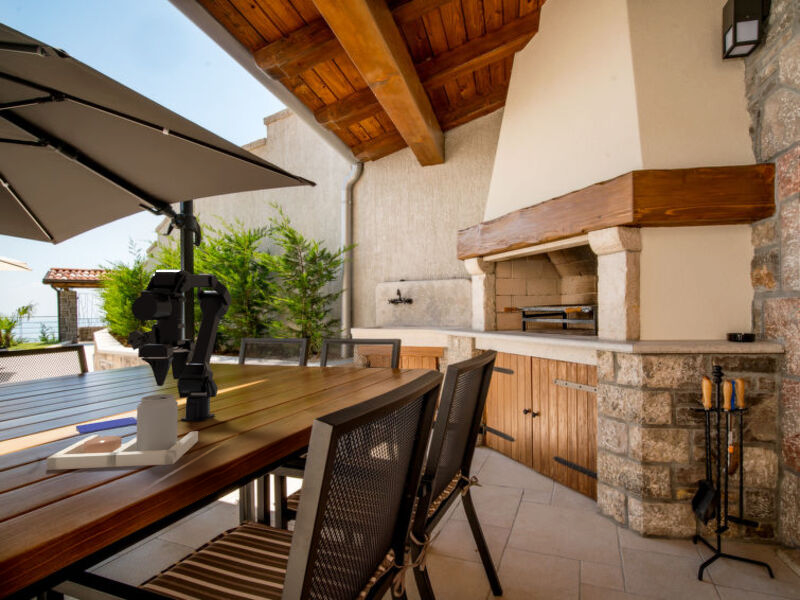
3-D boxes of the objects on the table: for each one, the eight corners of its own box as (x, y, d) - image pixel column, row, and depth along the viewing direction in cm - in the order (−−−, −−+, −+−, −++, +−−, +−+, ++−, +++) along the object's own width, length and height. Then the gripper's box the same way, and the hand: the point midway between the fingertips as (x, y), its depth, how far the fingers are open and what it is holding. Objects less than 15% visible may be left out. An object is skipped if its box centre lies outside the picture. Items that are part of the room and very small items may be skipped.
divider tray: (91, 447, 91) (91, 435, 91) (197, 442, 94) (197, 431, 94) (46, 472, 77) (47, 457, 77) (173, 466, 80) (173, 452, 80)
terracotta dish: (102, 448, 88) (102, 435, 88) (128, 450, 87) (128, 436, 87) (75, 459, 82) (75, 444, 82) (103, 461, 81) (103, 446, 81)
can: (184, 449, 88) (185, 394, 88) (149, 461, 81) (151, 401, 82) (163, 444, 91) (164, 391, 92) (128, 454, 85) (129, 397, 85)
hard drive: (132, 416, 113) (75, 425, 104) (139, 422, 107) (80, 432, 98) (132, 421, 113) (75, 431, 104) (139, 427, 107) (80, 438, 98)
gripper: (152, 318, 108) (151, 376, 108) (113, 320, 90) (112, 390, 89) (196, 318, 110) (194, 376, 110) (167, 320, 91) (165, 389, 91)
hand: (168, 382), depth 100 cm, fingers open, 9 cm apart
